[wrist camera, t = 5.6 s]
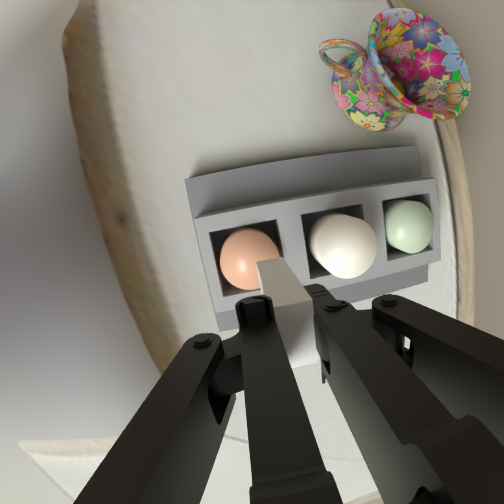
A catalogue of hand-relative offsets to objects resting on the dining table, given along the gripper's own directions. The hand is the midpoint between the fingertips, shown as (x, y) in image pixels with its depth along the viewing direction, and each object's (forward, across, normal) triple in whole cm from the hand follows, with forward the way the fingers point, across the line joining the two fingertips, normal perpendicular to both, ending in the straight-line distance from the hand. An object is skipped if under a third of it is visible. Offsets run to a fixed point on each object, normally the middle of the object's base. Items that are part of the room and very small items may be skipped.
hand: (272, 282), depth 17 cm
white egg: (+7, +6, 0) cm, 9 cm away
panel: (+11, +6, 0) cm, 13 cm away
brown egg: (+9, -1, 0) cm, 9 cm away
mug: (+12, +12, +14) cm, 22 cm away
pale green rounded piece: (+9, +13, 0) cm, 16 cm away
